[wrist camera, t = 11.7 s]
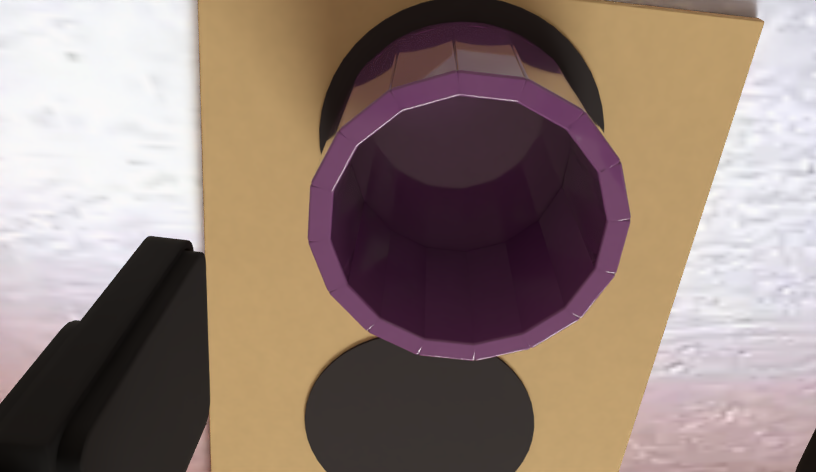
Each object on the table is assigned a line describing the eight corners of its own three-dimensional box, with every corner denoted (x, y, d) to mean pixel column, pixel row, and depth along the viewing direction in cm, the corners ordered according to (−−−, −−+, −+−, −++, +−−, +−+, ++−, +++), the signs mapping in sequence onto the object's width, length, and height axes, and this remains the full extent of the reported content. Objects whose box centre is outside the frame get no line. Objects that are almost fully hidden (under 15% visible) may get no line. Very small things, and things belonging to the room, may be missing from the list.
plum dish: (344, 6, 18) (315, 54, 13) (609, 36, 18) (667, 93, 14) (329, 241, 21) (302, 344, 16) (556, 265, 21) (589, 374, 17)
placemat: (200, -47, 18) (194, -44, 17) (759, 17, 18) (767, 21, 18) (214, 483, 26) (210, 493, 26) (597, 521, 26) (600, 532, 26)
